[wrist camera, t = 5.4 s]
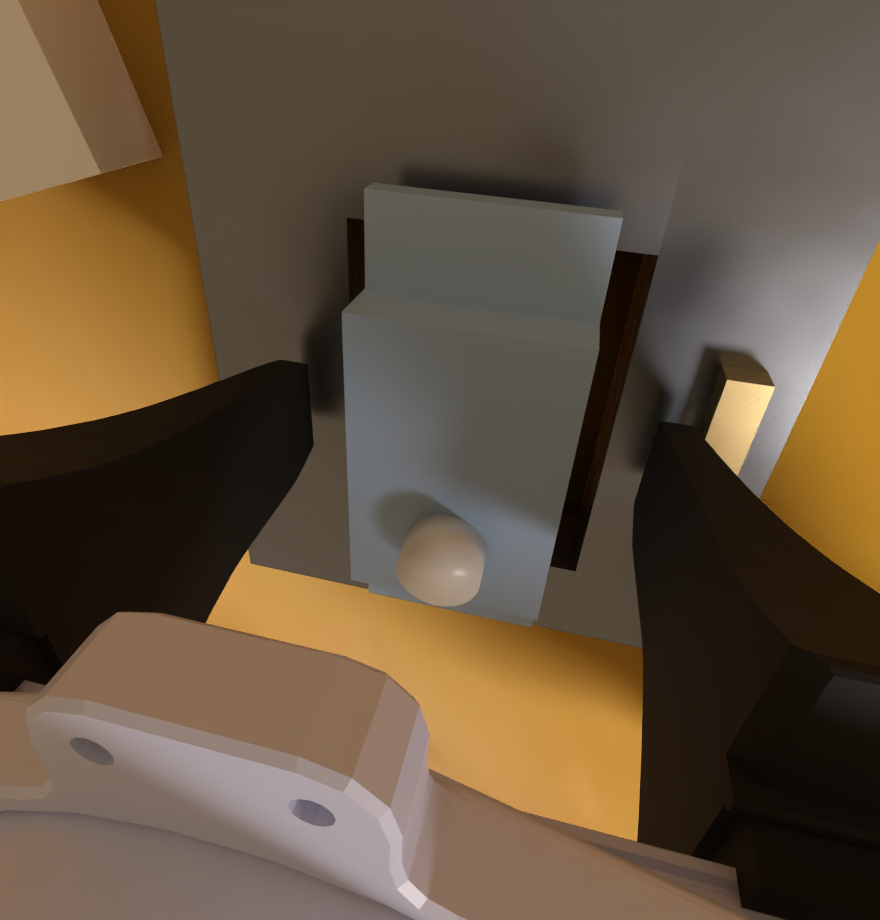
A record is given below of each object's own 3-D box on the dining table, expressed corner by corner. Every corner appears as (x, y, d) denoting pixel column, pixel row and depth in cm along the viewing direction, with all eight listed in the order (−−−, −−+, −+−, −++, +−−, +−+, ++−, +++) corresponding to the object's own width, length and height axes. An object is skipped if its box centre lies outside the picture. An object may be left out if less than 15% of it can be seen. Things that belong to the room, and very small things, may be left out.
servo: (619, 172, 12) (626, 255, 7) (545, 523, 17) (522, 699, 13) (423, 152, 13) (315, 217, 8) (410, 497, 18) (340, 657, 13)
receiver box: (89, -39, 12) (-8, -54, 10) (170, 154, 14) (101, 173, 12) (-81, 32, 14) (-193, 31, 12) (12, 198, 16) (-71, 221, 14)
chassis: (933, -37, 9) (1044, -64, 7) (677, 589, 17) (687, 677, 15) (219, -72, 11) (113, -102, 9) (286, 511, 19) (240, 578, 17)
